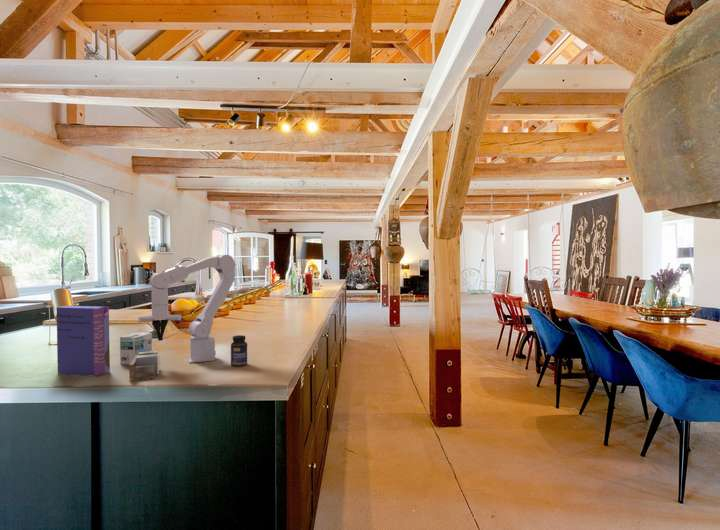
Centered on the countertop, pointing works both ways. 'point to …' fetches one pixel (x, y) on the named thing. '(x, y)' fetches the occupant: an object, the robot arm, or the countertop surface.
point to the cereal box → (83, 340)
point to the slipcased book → (149, 361)
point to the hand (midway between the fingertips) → (160, 340)
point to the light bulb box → (134, 346)
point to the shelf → (141, 368)
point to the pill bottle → (239, 351)
